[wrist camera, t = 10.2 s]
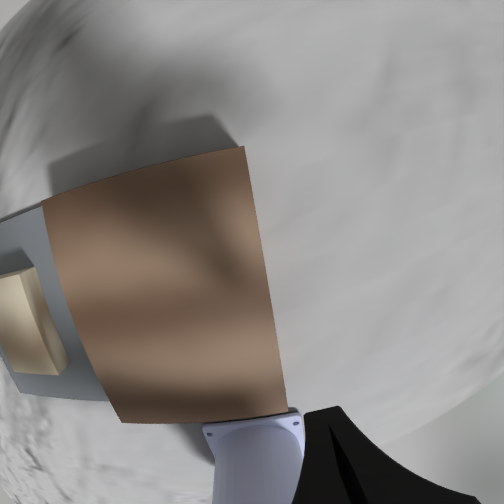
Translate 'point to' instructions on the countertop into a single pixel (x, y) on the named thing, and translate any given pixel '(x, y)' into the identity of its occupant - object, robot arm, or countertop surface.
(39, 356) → the birch tile
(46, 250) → the grey flat slab
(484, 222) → the countertop surface
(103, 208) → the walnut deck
